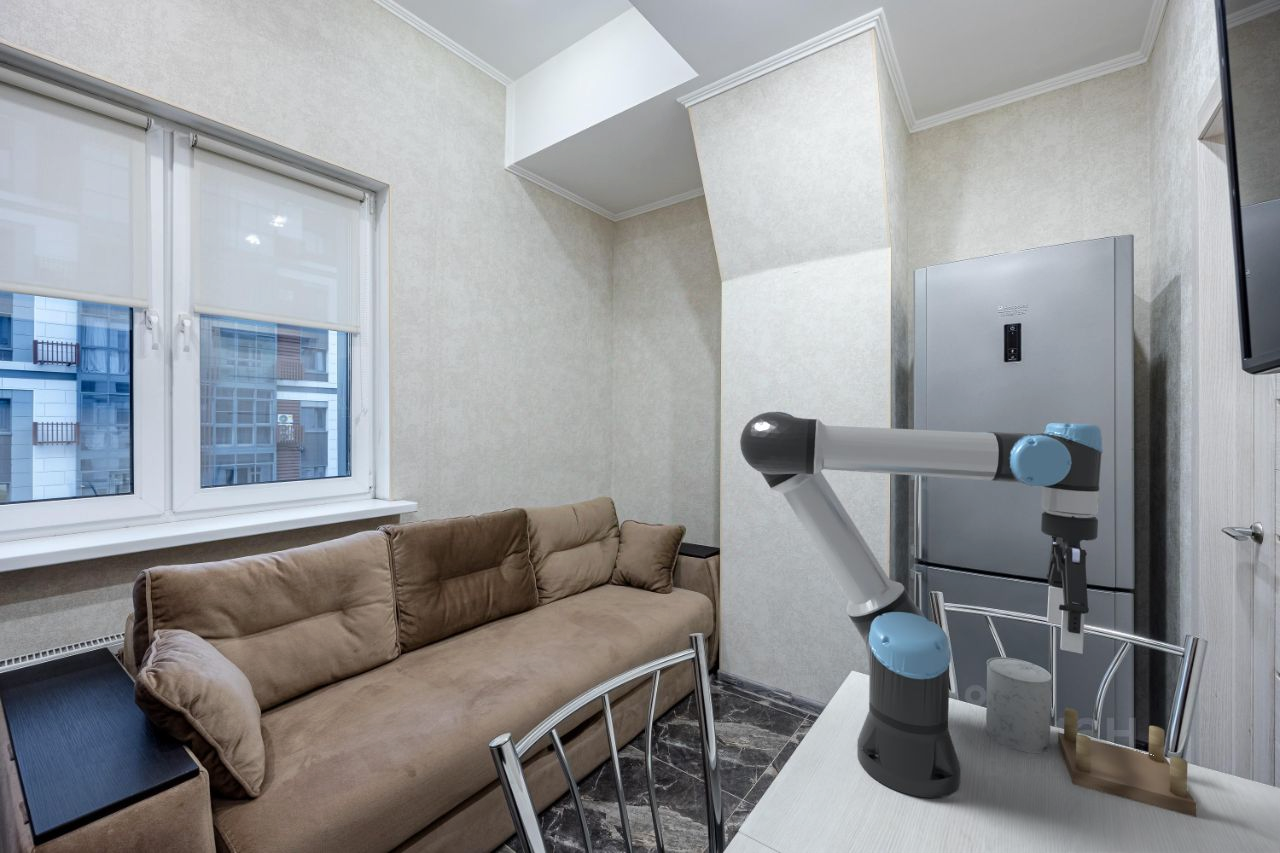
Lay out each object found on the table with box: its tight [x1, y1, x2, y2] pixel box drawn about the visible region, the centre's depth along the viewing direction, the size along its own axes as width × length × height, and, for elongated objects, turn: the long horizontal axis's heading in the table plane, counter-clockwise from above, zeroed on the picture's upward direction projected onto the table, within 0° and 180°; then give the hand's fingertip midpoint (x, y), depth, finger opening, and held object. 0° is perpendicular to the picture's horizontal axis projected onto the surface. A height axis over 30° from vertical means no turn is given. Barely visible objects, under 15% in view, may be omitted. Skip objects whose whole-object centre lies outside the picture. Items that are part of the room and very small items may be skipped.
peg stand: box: [1057, 707, 1197, 818], centre depth 86 cm, size 14×12×7 cm
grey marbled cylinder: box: [985, 656, 1053, 754], centre depth 96 cm, size 10×10×12 cm
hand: (1063, 636), depth 92 cm, fingers open, 13 cm apart
